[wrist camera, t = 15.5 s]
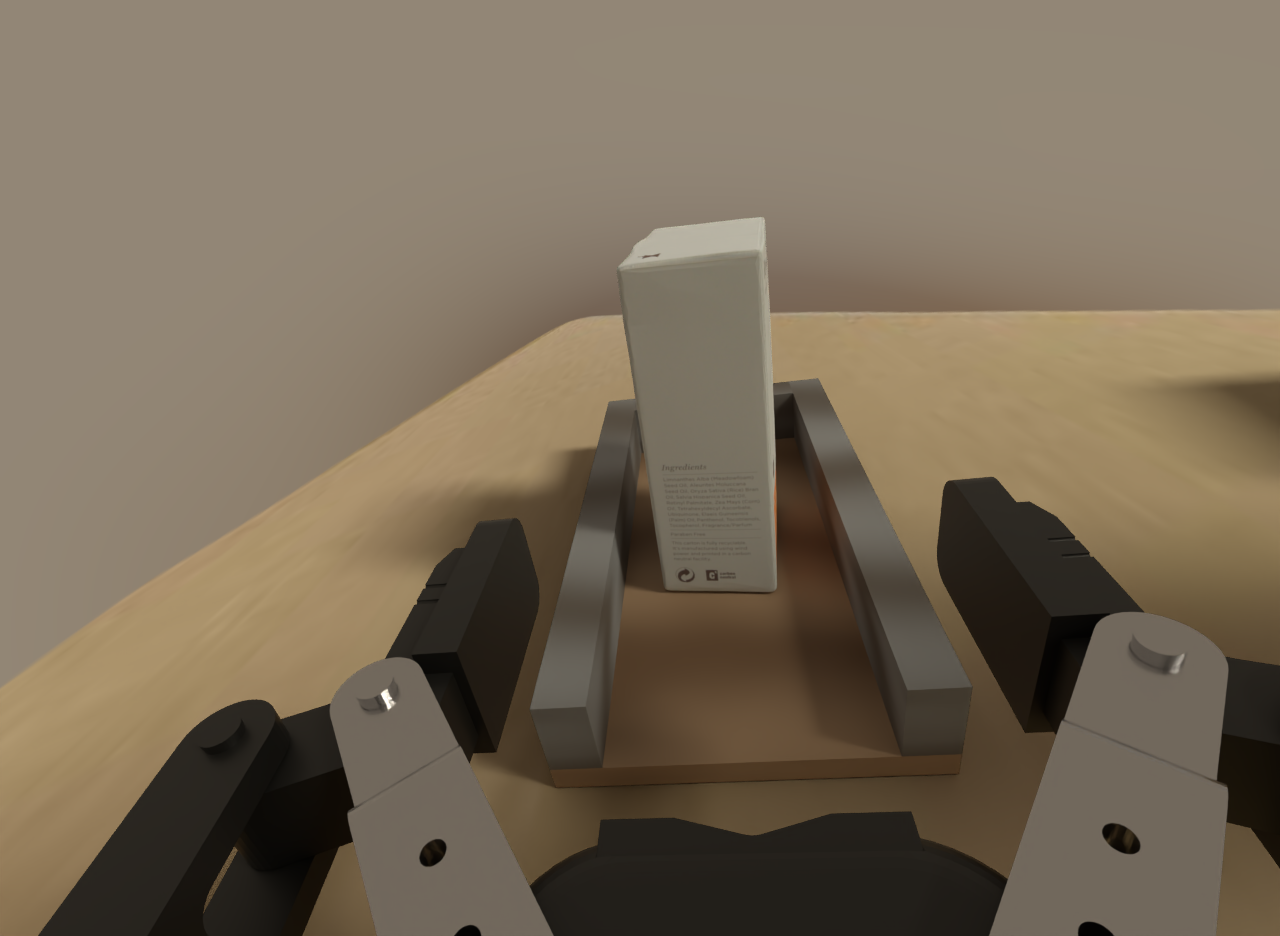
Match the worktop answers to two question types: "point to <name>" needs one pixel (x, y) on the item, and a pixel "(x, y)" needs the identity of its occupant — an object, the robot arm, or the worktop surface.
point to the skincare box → (706, 400)
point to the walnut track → (747, 634)
